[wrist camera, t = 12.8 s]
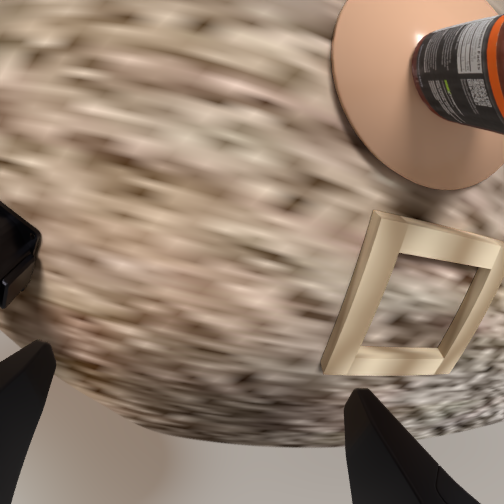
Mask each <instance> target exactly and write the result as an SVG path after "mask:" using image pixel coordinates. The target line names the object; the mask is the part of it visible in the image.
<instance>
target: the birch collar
mask: <svg viewBox="0 0 504 504" xmlns="http://www.w3.org/2000/svg"><path fill="white" fill-rule="evenodd" d="M399 253H404V254H410V255H415V256H421V257H427V258H432V259H438V260H443V261H449V262H455V263H460V264H465V265H471V266H476V267H479V268H478V270H477V272H476V275H475V277H474V279H473V281H472V283H471V286H470V288H469V290H468V292H467V294H466V296H465V298H464V300H463V302H462V304H461V306H460V308H459V310H458V312H457V314H456V316H455V318H454V320H453V322H452V323H451V325H450V327H449V329H448V331H447V333H446V334H445V336H444V338H443V340H442V341H441V343H440V345H439V347H438V348H402V347H374V346H361V344H362V342H363V340H364V337H365V335H366V333H367V331H368V329H369V326H370V324H371V322H372V319H373V317H374V315H375V313H376V310H377V308H378V305H379V303H380V301H381V298H382V296H383V293H384V291H385V288H386V286H387V283H388V281H389V278H390V276H391V273H392V270H393V268H394V265H395V262H396V260H397V257H398V254H399ZM503 277H504V242H503V241H499V240H496V239H492V238H489V237H485V236H481V235H478V234H474V233H470V232H466V231H462V230H458V229H454V228H450V227H446V226H442V225H438V224H434V223H430V222H426V221H421V220H417V219H413V218H408V217H404V216H400V215H395V214H390V213H386V212H381V211H376V210H373V213H372V216H371V220H370V223H369V226H368V230H367V233H366V236H365V240H364V243H363V246H362V249H361V252H360V255H359V258H358V261H357V264H356V267H355V270H354V273H353V276H352V279H351V282H350V285H349V288H348V291H347V294H346V296H345V299H344V302H343V305H342V307H341V310H340V313H339V315H338V318H337V321H336V323H335V326H334V329H333V331H332V334H331V336H330V339H329V341H328V344H327V346H326V349H325V351H324V354H323V356H322V359H321V366H322V371H323V374H328V375H361V376H401V375H432V374H449V373H450V371H451V370H452V368H453V367H454V365H455V364H456V362H457V361H458V359H459V358H460V356H461V355H462V353H463V351H464V350H465V348H466V346H467V345H468V343H469V342H470V340H471V338H472V336H473V335H474V333H475V331H476V330H477V328H478V326H479V324H480V322H481V321H482V319H483V317H484V315H485V313H486V311H487V310H488V308H489V306H490V304H491V302H492V300H493V298H494V296H495V294H496V292H497V290H498V288H499V286H500V284H501V281H502V279H503Z"/></svg>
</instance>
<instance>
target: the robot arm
mask: <svg viewBox="0 0 504 504" xmlns="http://www.w3.org/2000/svg"><path fill="white" fill-rule="evenodd" d="M33 234H34V236H35V237H34V236H33ZM39 239H40V233H39V231H38V230H37V229H36V228H34V227H33V226H32V225H30V224H29V223H28V222H26V221H25V220H24V219H23V218H21V217H20V216H19V215H17V214H16V213H15V212H13V211H12V210H11V209H10V208H8V207H7V206H6V205H5V204H3V203H2V202H1V201H0V307H1V308H2V309H3V308H6V307H7V306H8V305H9V304H10V302H11V301H12V300H13V299H14V298H15V297H16V296H17V295H18V294H19V293H20V291H23V290H24V289H25V288H26V286H27V284H28V283H29V282H30V279H31V275H32V272H33V268H34V264H35V261H36V260H35V257H34V255H35V252H36V249H37V245H38V242H39ZM55 369H56V360H55V357H54V354H53V351H52V347H51V345H50V343H48V342H46V341H42V340H36V341H34V342H32V343H31V344H29V345H27V346H26V347H24V348H23V349H21V350H20V351H18V352H16V353H14V354H13V355H11V356H9V357H8V358H6V359H5V360H3V361H1V362H0V504H11V502H12V498H13V495H14V491H15V488H16V484H17V481H18V478H19V475H20V471H21V468H22V466H23V462H24V460H25V457H26V454H27V451H28V448H29V445H30V442H31V440H32V437H33V434H34V432H35V429H36V427H37V424H38V421H39V419H40V416H41V414H42V411H43V408H44V405H45V402H46V398H47V395H48V391H49V388H50V385H51V382H52V378H53V375H54V372H55ZM344 425H345V450H346V460H347V467H348V474H349V481H350V488H351V495H352V503H353V504H480V503H479V502H478V501H477V500H476V499H474V498H473V497H472V496H471V495H470V494H469V493H467V492H466V491H465V490H464V489H463V488H462V487H461V486H460V485H458V484H457V483H456V482H455V481H454V480H453V479H452V478H451V477H450V476H449V475H448V474H447V473H446V471H444V469H443V468H442V467H441V466H438V463H437V462H436V461H435V460H434V459H433V458H432V457H431V456H430V455H429V453H428V452H427V451H426V450H425V449H424V448H423V447H422V446H421V445H420V444H419V443H418V442H417V440H416V439H415V438H414V437H413V436H412V435H411V434H410V433H409V432H408V431H407V430H406V429H405V428H404V426H403V425H402V424H401V423H400V422H399V421H398V420H397V419H396V418H395V417H394V416H393V415H392V413H391V412H390V411H389V410H388V409H387V408H386V407H385V406H384V405H383V404H382V403H381V402H380V400H379V399H378V398H377V397H376V396H375V395H374V394H373V393H372V392H371V391H370V390H369V389H367V388H356V389H354V390H353V392H352V394H351V395H350V397H349V399H348V400H347V402H346V404H345V407H344Z"/></svg>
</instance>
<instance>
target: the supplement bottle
mask: <svg viewBox="0 0 504 504" xmlns="http://www.w3.org/2000/svg"><path fill="white" fill-rule="evenodd" d="M412 75H413V80H414V84H415V87H416V89H417V91H418V94H419V96H420V97H421V99H422V100H423V102H424V103H425V104H426V106H427V107H428V108H429V109H430V110H431V111H432V112H433V113H434V114H436V115H437V116H439V117H440V118H442V119H444V120H447V121H450V122H454V123H458V124H461V125H466V126H470V127H474V128H478V129H483V130H487V131H491V132H495V133H498V134H502V135H504V14H502V15H497V16H492V17H487V18H482V19H478V20H473V21H469V22H465V23H461V24H457V25H453V26H450V27H445V28H442V29H439V30H436V31H433V32H431V33H429V34H427V35H425V36H424V37H423V38H422V39H421V40H420V41H419V42H418V44H417V46H416V48H415V50H414V53H413V58H412Z"/></svg>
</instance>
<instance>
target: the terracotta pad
mask: <svg viewBox="0 0 504 504" xmlns="http://www.w3.org/2000/svg"><path fill="white" fill-rule="evenodd" d="M497 15H498V14H497V13H496V11H495V10H494V9H493V8H492V7H491V6H490V5H489V3H488V2H487V1H486V0H347V1H346V2H345V4H344V6H343V7H342V9H341V11H340V13H339V15H338V18H337V21H336V24H335V27H334V32H333V37H332V45H331V63H332V74H333V79H334V83H335V88H336V92H337V95H338V98H339V101H340V104H341V106H342V108H343V111H344V113H345V115H346V117H347V119H348V121H349V123H350V125H351V126H352V128H353V130H354V131H355V133H356V135H357V136H358V137H359V138H360V140H361V141H362V142H363V144H364V145H365V146H366V147H367V149H368V150H369V151H370V152H371V153H372V154H373V155H374V156H375V157H376V158H377V159H378V160H380V161H381V162H382V163H383V164H384V165H386V166H387V167H388V168H390V169H391V170H393V171H395V172H396V173H398V174H399V175H401V176H403V177H404V178H406V179H408V180H410V181H412V182H414V183H416V184H419V185H422V186H425V187H429V188H433V189H440V190H456V189H462V188H466V187H469V186H472V185H475V184H477V183H479V182H481V181H483V180H485V179H487V178H488V177H489V176H491V175H492V174H493V173H495V172H496V171H497V170H498V169H499V168H500V167H501V166H502V165H503V163H504V135H502V134H498V133H495V132H491V131H487V130H483V129H478V128H474V127H470V126H466V125H461V124H458V123H454V122H450V121H447V120H444V119H442V118H440V117H439V116H437V115H436V114H434V113H433V112H432V111H431V110H430V109H429V108H428V107H427V106H426V104H425V103H424V102H423V100H422V99H421V97H420V96H419V94H418V91H417V89H416V87H415V84H414V80H413V75H412V58H413V53H414V50H415V48H416V46H417V44H418V42H419V41H420V40H421V39H422V38H423V37H424V36H425V35H427V34H429V33H431V32H433V31H436V30H439V29H442V28H445V27H450V26H453V25H457V24H461V23H465V22H469V21H473V20H478V19H482V18H487V17H492V16H497Z"/></svg>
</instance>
